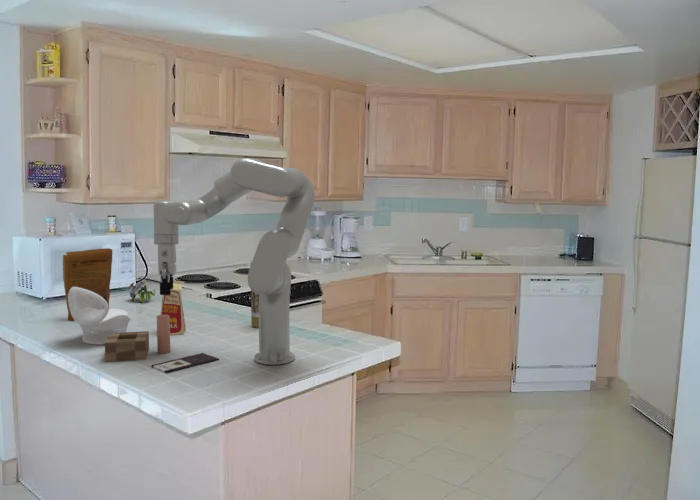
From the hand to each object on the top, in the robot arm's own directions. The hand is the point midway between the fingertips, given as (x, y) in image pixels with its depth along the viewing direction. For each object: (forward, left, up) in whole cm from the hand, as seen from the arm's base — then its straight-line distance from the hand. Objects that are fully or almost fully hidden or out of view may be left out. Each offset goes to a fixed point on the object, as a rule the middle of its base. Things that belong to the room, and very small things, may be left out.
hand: (166, 291), depth 197 cm
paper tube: (+27, -33, -20) cm, 47 cm away
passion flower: (+86, +15, -20) cm, 90 cm away
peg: (-1, +1, -20) cm, 20 cm away
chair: (+19, +23, -20) cm, 36 cm away
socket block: (-2, +12, -20) cm, 23 cm away
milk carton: (+25, -1, -20) cm, 32 cm away
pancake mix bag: (+54, +32, -20) cm, 66 cm away
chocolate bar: (-15, -6, -20) cm, 26 cm away
